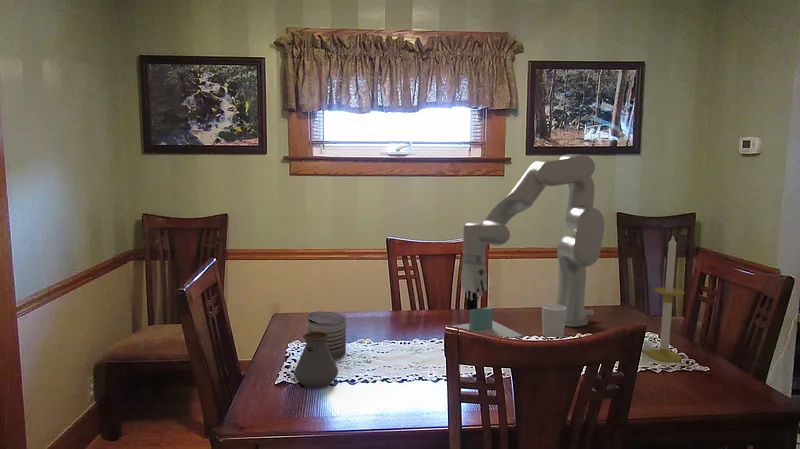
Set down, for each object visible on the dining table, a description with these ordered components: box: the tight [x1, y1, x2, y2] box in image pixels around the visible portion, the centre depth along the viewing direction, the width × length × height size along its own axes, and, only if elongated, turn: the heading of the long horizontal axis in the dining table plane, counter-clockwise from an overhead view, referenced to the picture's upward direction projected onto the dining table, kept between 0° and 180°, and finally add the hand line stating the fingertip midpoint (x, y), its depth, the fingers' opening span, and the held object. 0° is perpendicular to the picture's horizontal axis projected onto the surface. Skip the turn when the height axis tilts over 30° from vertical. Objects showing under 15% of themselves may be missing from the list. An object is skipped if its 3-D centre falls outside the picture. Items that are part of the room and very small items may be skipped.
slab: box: [468, 306, 494, 331], centre depth 196 cm, size 8×2×7 cm, turn 115°
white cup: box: [541, 303, 567, 340], centre depth 191 cm, size 8×8×10 cm
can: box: [307, 310, 347, 361], centre depth 172 cm, size 11×11×12 cm
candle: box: [645, 235, 685, 363], centre depth 172 cm, size 10×10×38 cm
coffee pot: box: [293, 332, 339, 389], centre depth 147 cm, size 21×12×15 cm, turn 1°
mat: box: [451, 320, 524, 339], centre depth 194 cm, size 19×18×1 cm
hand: (472, 310), depth 201 cm, fingers closed
